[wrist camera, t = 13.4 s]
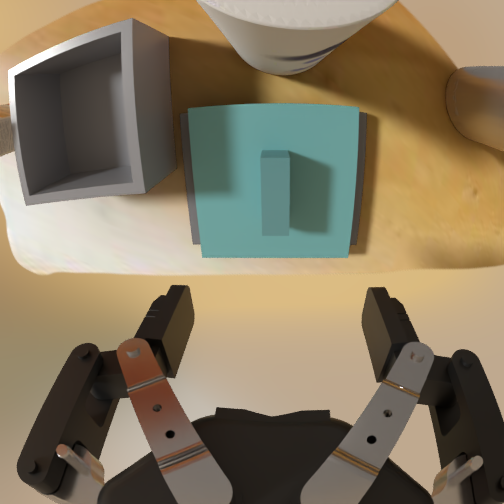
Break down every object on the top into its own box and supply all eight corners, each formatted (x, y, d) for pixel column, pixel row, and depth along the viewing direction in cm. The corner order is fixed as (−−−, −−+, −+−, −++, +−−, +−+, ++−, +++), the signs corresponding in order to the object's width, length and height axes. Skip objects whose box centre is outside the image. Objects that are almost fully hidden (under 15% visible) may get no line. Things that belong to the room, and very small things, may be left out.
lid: (353, 106, 26) (372, 108, 21) (343, 248, 34) (356, 277, 28) (193, 107, 27) (174, 109, 22) (206, 248, 35) (194, 277, 29)
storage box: (168, 36, 24) (132, 18, 16) (177, 168, 31) (145, 193, 23) (58, 68, 25) (8, 70, 17) (70, 180, 32) (25, 205, 24)
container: (300, 92, 26) (350, 77, 9) (213, 49, 25) (121, -17, 7) (347, 20, 22) (440, -62, 4) (260, -23, 20) (243, -143, 3)
